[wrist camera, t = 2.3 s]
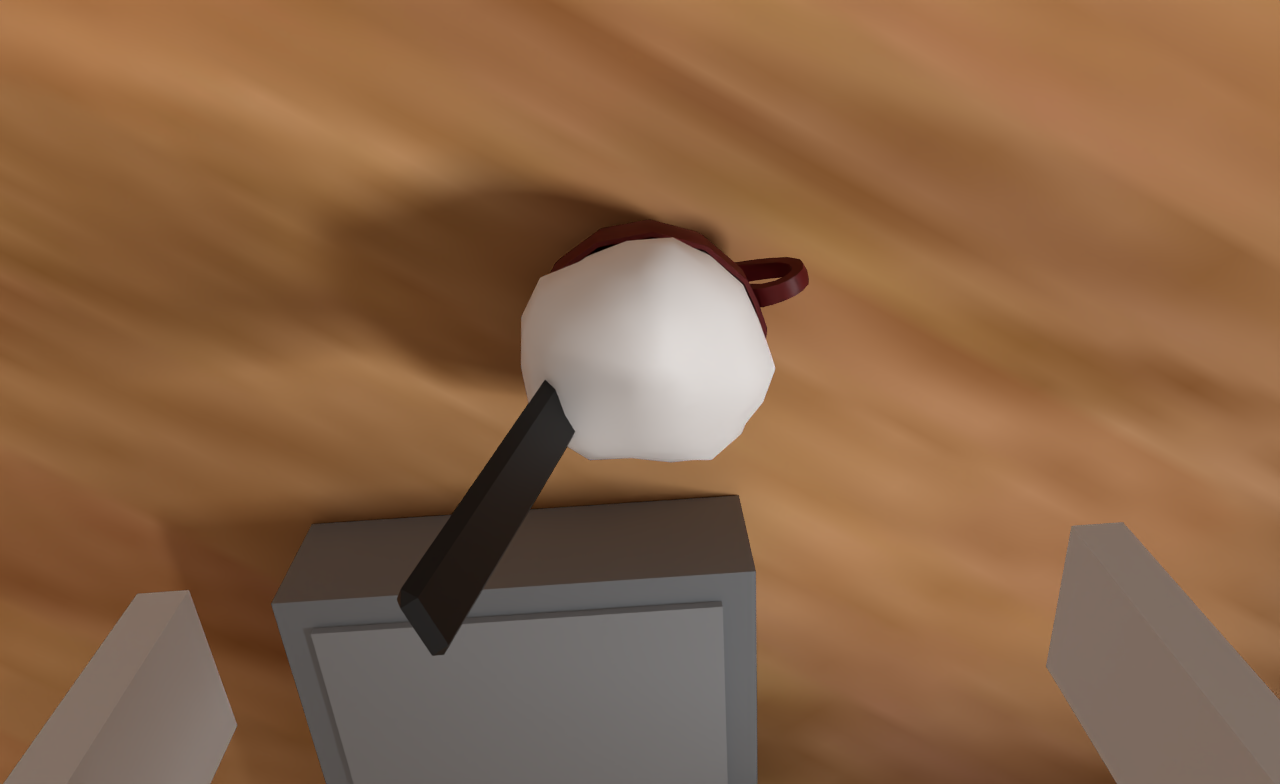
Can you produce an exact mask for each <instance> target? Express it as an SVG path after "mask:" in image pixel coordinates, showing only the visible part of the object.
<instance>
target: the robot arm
mask: <svg viewBox="0 0 1280 784" xmlns="http://www.w3.org/2000/svg"><path fill="white" fill-rule="evenodd" d="M1046 667H1047V669H1048V670H1049V672H1050V674H1051V675H1052V677H1053V679H1054V680H1055V682H1056V684H1057V685H1058V687H1059V688H1060V690H1061V692H1062V693H1063V695H1064V697H1065V698H1066V700H1067V702H1068V703H1069V705H1070V707H1071V708H1072V710H1073V712H1074V713H1075V715H1076V717H1077V718H1078V720H1079V722H1080V723H1081V725H1082V727H1083V728H1084V730H1085V732H1086V733H1087V735H1088V737H1089V738H1090V740H1091V742H1092V743H1093V745H1094V747H1095V748H1096V750H1097V752H1098V753H1099V755H1100V757H1101V758H1102V760H1103V762H1104V763H1105V765H1106V766H1107V768H1108V770H1109V771H1110V773H1111V775H1112V776H1113V778H1114V780H1115V781H1116V783H1117V784H1280V700H1279V699H1278V698H1277V697H1276V696H1275V695H1274V693H1273V692H1272V691H1271V690H1270V689H1269V688H1268V687H1267V685H1266V684H1265V683H1264V682H1263V681H1262V680H1261V679H1260V678H1259V676H1258V675H1257V674H1256V673H1255V672H1254V671H1253V670H1252V668H1251V667H1250V666H1249V665H1248V664H1247V663H1246V662H1245V660H1244V659H1243V658H1242V657H1241V656H1240V655H1239V654H1238V653H1237V651H1236V650H1235V649H1234V648H1233V647H1232V646H1231V645H1230V643H1229V642H1228V641H1227V640H1226V639H1225V638H1224V637H1223V635H1222V634H1221V633H1220V632H1219V631H1218V630H1217V629H1216V628H1215V626H1214V625H1213V624H1212V623H1211V622H1210V621H1209V620H1208V618H1207V617H1206V616H1205V615H1204V614H1203V613H1202V612H1201V610H1200V609H1199V608H1198V607H1197V606H1196V605H1195V604H1194V603H1193V601H1192V600H1191V599H1190V598H1189V597H1188V596H1187V595H1186V593H1185V592H1184V591H1183V590H1182V589H1181V588H1180V587H1179V585H1178V584H1177V583H1176V582H1175V581H1174V580H1173V579H1172V578H1171V576H1170V575H1169V574H1168V573H1167V572H1166V571H1165V570H1164V568H1163V567H1162V566H1161V565H1160V564H1159V563H1158V562H1157V560H1156V559H1155V558H1154V557H1153V556H1152V555H1151V554H1150V553H1149V551H1148V550H1147V549H1146V548H1145V547H1144V546H1143V545H1142V543H1141V542H1140V541H1139V540H1138V539H1137V538H1136V537H1135V535H1134V534H1133V533H1132V532H1131V531H1130V530H1129V529H1128V528H1127V526H1126V525H1125V524H1124V523H1123V522H1120V523H1106V524H1092V525H1078V526H1071V532H1070V537H1069V543H1068V548H1067V554H1066V559H1065V565H1064V570H1063V576H1062V581H1061V587H1060V592H1059V598H1058V603H1057V609H1056V615H1055V620H1054V626H1053V631H1052V637H1051V642H1050V648H1049V653H1048V659H1047V664H1046ZM236 727H237V723H236V720H235V717H234V714H233V712H232V709H231V706H230V703H229V700H228V698H227V695H226V692H225V689H224V687H223V684H222V681H221V678H220V675H219V673H218V670H217V667H216V664H215V661H214V659H213V656H212V653H211V650H210V647H209V645H208V642H207V639H206V636H205V634H204V631H203V628H202V625H201V622H200V620H199V617H198V614H197V611H196V608H195V606H194V603H193V600H192V597H191V594H190V592H189V590H182V591H169V592H155V593H141V594H137V595H136V596H135V598H134V599H133V601H132V602H131V603H130V605H129V606H128V608H127V609H126V610H125V612H124V613H123V615H122V616H121V618H120V619H119V620H118V622H117V623H116V625H115V626H114V627H113V629H112V630H111V632H110V633H109V635H108V636H107V637H106V639H105V640H104V642H103V643H102V644H101V646H100V647H99V649H98V650H97V652H96V653H95V654H94V656H93V657H92V659H91V660H90V661H89V663H88V664H87V666H86V667H85V669H84V670H83V671H82V673H81V674H80V676H79V677H78V678H77V680H76V681H75V683H74V684H73V686H72V687H71V688H70V690H69V691H68V693H67V694H66V695H65V697H64V698H63V700H62V701H61V703H60V704H59V705H58V707H57V708H56V710H55V711H54V712H53V714H52V715H51V717H50V718H49V720H48V721H47V722H46V724H45V725H44V727H43V728H42V729H41V731H40V732H39V734H38V735H37V737H36V738H35V739H34V741H33V742H32V744H31V745H30V746H29V748H28V749H27V751H26V752H25V754H24V755H23V756H22V758H21V759H20V761H19V762H18V764H17V765H16V766H15V768H14V769H13V771H12V772H11V773H10V775H9V776H8V778H7V779H6V781H5V782H4V783H3V784H211V781H212V779H213V777H214V775H215V773H216V771H217V768H218V766H219V764H220V762H221V760H222V758H223V756H224V753H225V751H226V749H227V747H228V745H229V743H230V740H231V738H232V736H233V734H234V732H235V730H236Z"/></svg>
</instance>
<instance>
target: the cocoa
mask: <svg viewBox="0 0 1280 784" xmlns="http://www.w3.org/2000/svg"><path fill="white" fill-rule="evenodd" d="M780 277H782V278H780ZM770 278H780V279H778V280H776V281H772V282H768V283H764V284H749V281H755V280H762V279H770ZM808 282H809V278H808V273H807V269H806V268H805V266H804V264H803V263H802V261H801V260H800V259H796V258H789V257H781V258H766V259H756V260H749V261H742V262H733V261H732V260H731V259H730V258H729V257H727V256H726V255H725V254H724V253H723V252H722V251H720V250H719V249H718V248H717V247H716V246H715V245H713V244H712V243H711V242H710V241H709V240H708V239H707V238H705V237H704V236H703V235H701V234H700V233H698V232H696V231H692V230H688V229H684V228H681V227H677V226H673V225H669V224H665V223H661V222H658V221H654V220H650V219H648V220H643V221H638V222H632V223H627V224H622V225H616V226H611V227H606V228H602V229H600V230H598V231H597V232H596V233H594V234H593V235H592V236H590V237H589V238H587V239H586V240H585V241H583V242H582V243H581V244H579V245H578V246H576V247H575V248H574V249H572V250H571V251H570V252H568V253H567V254H566V255H564V256H563V257H562V258H560V259H559V260H558V261H557V262H556V263H555V265H554V267H553V269H552V271H551V273H550V274H548V275H545V276H543V277H540V279H539V281H538V283H537V285H536V287H535V289H534V291H533V293H532V295H531V298H530V300H529V302H528V304H527V306H526V308H525V310H524V312H523V314H522V316H521V370H522V374H523V379H524V384H525V389H526V393H527V398H528V405H527V406H526V408H525V409H524V411H523V412H522V414H521V415H520V416H519V418H518V419H517V421H516V422H515V424H514V425H513V427H512V428H511V430H510V431H509V432H508V434H507V435H506V437H505V438H504V440H503V441H502V443H501V444H500V445H499V447H498V448H497V450H496V451H495V453H494V454H493V456H492V457H491V459H490V460H489V461H488V463H487V464H486V466H485V467H484V469H483V470H482V472H481V473H480V474H479V476H478V477H477V479H476V480H475V482H474V483H473V485H472V486H471V488H470V489H469V490H468V492H467V493H466V495H465V496H464V498H463V499H462V501H461V502H460V503H459V505H458V506H457V508H456V509H455V511H454V512H453V514H452V515H451V516H450V518H449V519H448V521H447V522H446V524H445V525H444V527H443V528H442V530H441V531H440V532H439V534H438V535H437V537H436V538H435V540H434V541H433V543H432V544H431V545H430V547H429V548H428V550H427V551H426V553H425V554H424V556H423V557H422V559H421V560H420V561H419V563H418V564H417V566H416V567H415V569H414V570H413V572H412V573H411V574H410V576H409V577H408V579H407V580H406V582H405V583H404V585H403V586H402V588H401V589H400V592H399V595H398V597H397V602H398V604H399V606H400V609H401V610H402V612H403V613H404V615H405V616H406V618H407V619H408V621H409V622H410V624H411V625H412V627H413V628H414V630H415V631H416V633H417V634H418V636H419V637H420V639H421V640H422V642H423V643H424V645H425V646H426V648H427V649H428V651H429V652H430V654H431V655H432V656H437V655H444V654H445V653H446V651H447V649H448V648H449V646H450V644H451V643H452V641H453V639H454V638H455V636H456V634H457V632H458V631H459V629H460V627H461V626H462V624H463V622H464V621H465V619H466V617H467V616H468V614H469V612H470V610H471V609H472V607H473V605H474V604H475V602H476V600H477V599H478V597H479V595H480V593H481V592H482V590H483V588H484V587H485V585H486V583H487V582H488V580H489V578H490V577H491V575H492V573H493V571H494V570H495V568H496V566H497V565H498V563H499V561H500V560H501V558H502V556H503V555H504V553H505V551H506V549H507V548H508V546H509V544H510V543H511V541H512V539H513V538H514V536H515V534H516V533H517V531H518V529H519V527H520V526H521V524H522V522H523V521H524V519H525V517H526V516H527V514H528V512H529V511H530V509H531V507H532V505H533V504H534V502H535V500H536V499H537V497H538V495H539V494H540V492H541V490H542V489H543V487H544V485H545V483H546V482H547V480H548V478H549V477H550V475H551V473H552V472H553V470H554V468H555V467H556V465H557V463H558V461H559V460H560V458H561V456H562V455H563V453H564V451H565V450H566V448H567V447H569V448H570V449H572V450H574V451H575V452H577V453H579V454H580V455H582V456H584V457H585V458H587V459H588V460H602V459H622V458H636V459H645V460H655V461H664V462H679V461H689V460H712V459H713V458H714V457H715V456H716V455H718V454H719V453H720V452H721V451H722V450H723V449H724V448H726V447H727V446H728V445H729V444H730V443H731V442H733V441H734V440H735V439H736V438H737V437H738V436H739V435H741V434H742V431H743V429H744V426H745V424H746V423H747V421H748V420H749V419H750V418H751V416H752V415H753V414H754V413H755V411H756V410H757V409H758V408H759V406H760V405H761V404H762V403H763V401H764V398H765V395H766V393H767V390H768V387H769V384H770V382H771V379H772V376H773V374H774V371H775V366H774V362H773V359H772V356H771V353H770V350H769V347H768V344H767V341H766V335H767V326H766V324H765V321H764V318H763V315H762V312H761V309H760V307H765V306H769V305H773V304H776V303H779V302H782V301H784V300H787V299H789V298H791V297H793V296H796V295H797V294H798V293H800V292H801V291H803V290H804V288H805V287H806V286H807V285H808Z"/></svg>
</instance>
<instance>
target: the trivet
mask: <svg viewBox="0 0 1280 784" xmlns="http://www.w3.org/2000/svg"><path fill="white" fill-rule="evenodd" d="M450 516H451V515H441V516H426V517H412V518H397V519H382V520H367V521H352V522H337V523H322V524H312V525H311V527H310V529H309V531H308V533H307V535H306V537H305V539H304V541H303V543H302V545H301V547H300V548H299V550H298V552H297V554H296V556H295V558H294V560H293V562H292V564H291V566H290V568H289V570H288V572H287V574H286V576H285V578H284V580H283V582H282V583H281V585H280V587H279V589H278V591H277V593H276V595H275V597H274V599H273V601H272V603H271V605H272V608H273V612H274V615H275V618H276V622H277V625H278V628H279V631H280V635H281V638H282V641H283V644H284V648H285V651H286V654H287V657H288V661H289V664H290V667H291V670H292V674H293V677H294V680H295V684H296V687H297V690H298V693H299V697H300V700H301V703H302V706H303V710H304V713H305V716H306V719H307V723H308V726H309V729H310V733H311V736H312V739H313V742H314V746H315V749H316V752H317V755H318V759H319V762H320V765H321V768H322V772H323V775H324V778H325V782H326V784H757V666H756V570H755V566H754V561H753V557H752V552H751V548H750V544H749V539H748V535H747V530H746V526H745V521H744V517H743V512H742V508H741V503H740V499H739V495H738V496H724V497H709V498H694V499H679V500H664V501H649V502H634V503H620V504H605V505H590V506H575V507H560V508H545V509H530V511H529V512H528V514H527V516H526V517H525V519H524V521H523V522H522V524H521V526H520V527H519V529H518V531H517V533H516V534H515V536H514V538H513V539H512V541H511V543H510V544H509V546H508V548H507V549H506V551H505V553H504V555H503V556H502V558H501V560H500V561H499V563H498V565H497V566H496V568H495V570H494V571H493V573H492V575H491V577H490V578H489V580H488V582H487V583H486V585H485V587H484V588H483V590H482V592H481V593H480V595H479V597H478V599H477V600H476V602H475V604H474V605H473V607H472V609H471V610H470V612H469V614H468V616H467V617H466V619H465V621H464V622H463V624H462V626H461V627H460V629H459V631H458V632H457V634H456V636H455V638H454V639H453V641H452V643H451V644H450V646H449V648H448V649H447V651H446V653H445V654H444V655H437V656H432V655H431V654H430V652H429V651H428V649H427V648H426V646H425V645H424V643H423V642H422V640H421V639H420V637H419V636H418V634H417V633H416V631H415V630H414V628H413V627H412V625H411V624H410V622H409V621H408V619H407V618H406V616H405V615H404V613H403V612H402V610H401V609H400V606H399V604H398V602H397V597H398V595H399V592H400V589H401V588H402V586H403V585H404V583H405V582H406V580H407V579H408V577H409V576H410V574H411V573H412V572H413V570H414V569H415V567H416V566H417V564H418V563H419V561H420V560H421V559H422V557H423V556H424V554H425V553H426V551H427V550H428V548H429V547H430V545H431V544H432V543H433V541H434V540H435V538H436V537H437V535H438V534H439V532H440V531H441V530H442V528H443V527H444V525H445V524H446V522H447V521H448V519H449V518H450Z"/></svg>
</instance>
